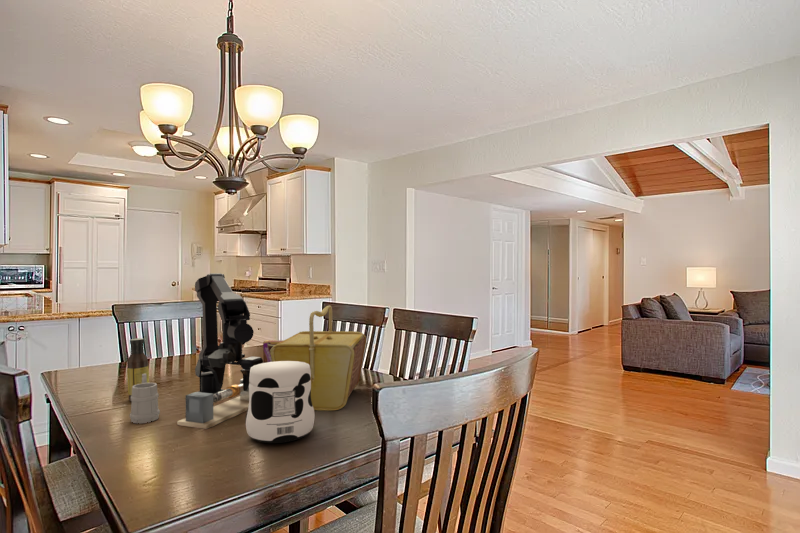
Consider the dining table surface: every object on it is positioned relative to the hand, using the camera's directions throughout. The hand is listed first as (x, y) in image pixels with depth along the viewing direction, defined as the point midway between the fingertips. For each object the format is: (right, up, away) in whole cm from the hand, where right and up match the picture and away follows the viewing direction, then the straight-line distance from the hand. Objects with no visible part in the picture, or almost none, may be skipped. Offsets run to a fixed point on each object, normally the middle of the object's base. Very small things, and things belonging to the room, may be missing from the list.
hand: (232, 389), depth 147 cm
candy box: (+4, -6, +36) cm, 36 cm away
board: (0, -6, -1) cm, 6 cm away
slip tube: (+1, -2, +3) cm, 4 cm away
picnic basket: (+26, -6, +11) cm, 29 cm away
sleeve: (+4, -5, +10) cm, 12 cm away
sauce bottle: (-35, -6, +11) cm, 37 cm away
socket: (-5, -5, -13) cm, 15 cm away
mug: (-23, -6, -8) cm, 25 cm away
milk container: (+21, -6, -23) cm, 32 cm away
